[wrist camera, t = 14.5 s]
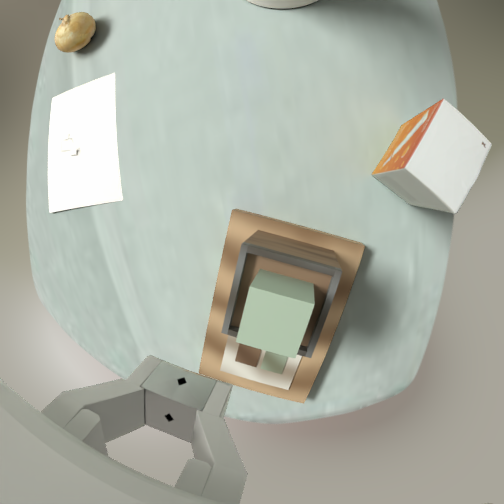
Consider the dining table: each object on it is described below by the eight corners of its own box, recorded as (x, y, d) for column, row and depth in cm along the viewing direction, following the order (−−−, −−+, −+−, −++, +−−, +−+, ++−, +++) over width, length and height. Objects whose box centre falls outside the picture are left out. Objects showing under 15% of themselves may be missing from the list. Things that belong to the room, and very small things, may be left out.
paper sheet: (57, 86, 37) (53, 85, 36) (204, 54, 34) (202, 51, 32) (46, 212, 42) (42, 213, 41) (192, 217, 39) (189, 218, 38)
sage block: (260, 268, 27) (249, 286, 22) (313, 283, 26) (314, 304, 21) (247, 316, 28) (235, 341, 23) (297, 330, 27) (295, 358, 22)
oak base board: (236, 208, 36) (207, 217, 25) (361, 243, 34) (384, 265, 24) (203, 366, 42) (175, 411, 31) (304, 395, 40) (300, 447, 29)
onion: (107, 32, 33) (82, 17, 27) (75, 64, 36) (49, 53, 29) (94, 13, 33) (71, -1, 26) (65, 43, 35) (41, 32, 28)
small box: (400, 124, 30) (444, 95, 18) (438, 155, 30) (494, 144, 17) (369, 175, 32) (403, 168, 20) (408, 206, 32) (457, 216, 20)
